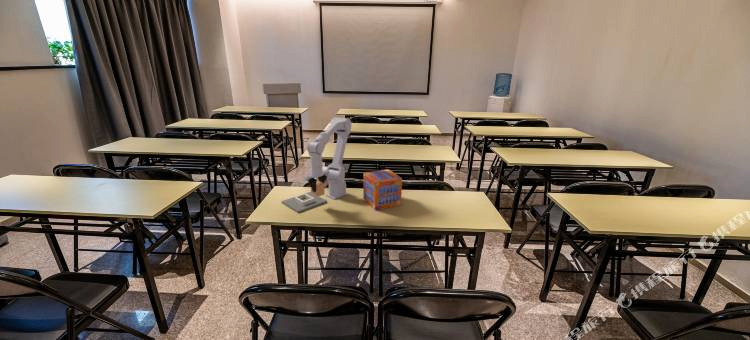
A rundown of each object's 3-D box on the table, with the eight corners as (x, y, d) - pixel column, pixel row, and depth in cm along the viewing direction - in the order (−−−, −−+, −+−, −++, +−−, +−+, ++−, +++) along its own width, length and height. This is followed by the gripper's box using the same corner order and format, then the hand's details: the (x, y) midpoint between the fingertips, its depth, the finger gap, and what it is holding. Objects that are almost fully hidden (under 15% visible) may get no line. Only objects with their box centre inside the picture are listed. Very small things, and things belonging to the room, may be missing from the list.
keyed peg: (324, 194, 157) (324, 183, 155) (318, 196, 154) (317, 185, 152) (317, 190, 161) (316, 180, 159) (311, 193, 158) (310, 182, 156)
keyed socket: (310, 193, 176) (309, 188, 175) (327, 202, 165) (326, 197, 164) (281, 202, 164) (281, 197, 163) (298, 213, 153) (297, 207, 152)
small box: (325, 187, 185) (324, 170, 182) (316, 186, 186) (316, 170, 183) (330, 182, 193) (329, 166, 189) (321, 181, 194) (320, 165, 190)
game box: (401, 205, 164) (402, 178, 159) (375, 210, 157) (375, 182, 152) (387, 194, 177) (388, 168, 172) (363, 198, 171) (363, 172, 165)
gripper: (323, 160, 160) (324, 184, 165) (299, 166, 150) (301, 192, 155) (331, 163, 156) (332, 188, 160) (307, 170, 146) (309, 196, 150)
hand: (317, 190), depth 157 cm, fingers closed on keyed peg, 4 cm apart
